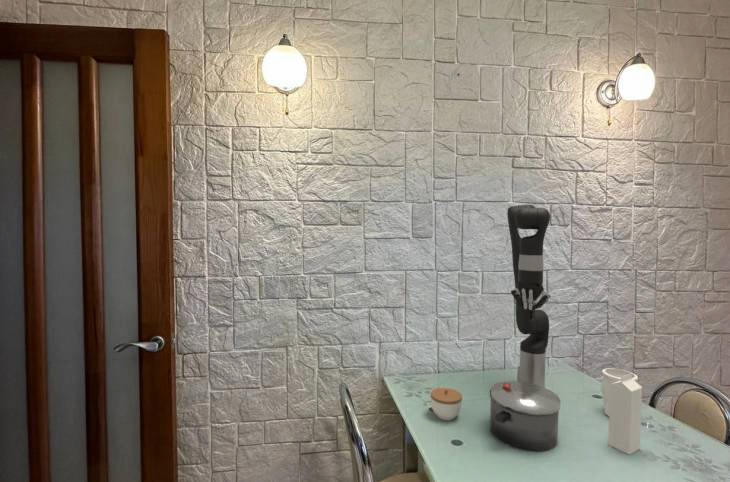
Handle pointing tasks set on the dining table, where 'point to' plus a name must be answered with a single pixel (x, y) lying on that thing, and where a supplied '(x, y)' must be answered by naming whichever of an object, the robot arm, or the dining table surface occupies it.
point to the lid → (525, 398)
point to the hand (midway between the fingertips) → (529, 320)
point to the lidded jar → (446, 403)
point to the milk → (625, 415)
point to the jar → (611, 377)
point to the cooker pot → (524, 428)
